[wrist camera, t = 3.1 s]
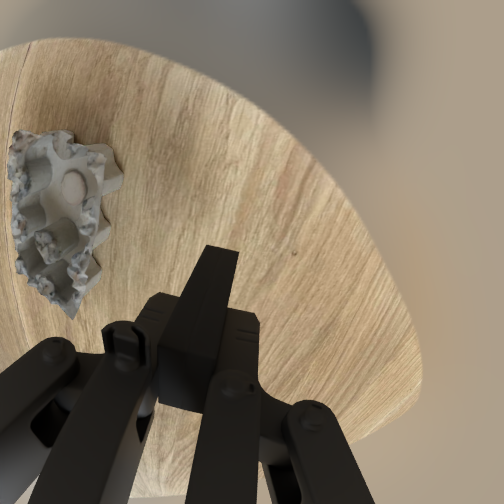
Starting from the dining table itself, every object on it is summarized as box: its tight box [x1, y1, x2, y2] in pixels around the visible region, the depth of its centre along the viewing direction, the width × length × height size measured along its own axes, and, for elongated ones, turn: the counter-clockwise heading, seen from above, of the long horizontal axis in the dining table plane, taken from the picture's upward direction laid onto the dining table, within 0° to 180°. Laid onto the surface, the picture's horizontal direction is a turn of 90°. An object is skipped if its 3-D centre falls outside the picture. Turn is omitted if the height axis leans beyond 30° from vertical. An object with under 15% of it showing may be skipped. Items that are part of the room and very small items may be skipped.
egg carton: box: [7, 129, 124, 320], centre depth 13 cm, size 11×8×4 cm
